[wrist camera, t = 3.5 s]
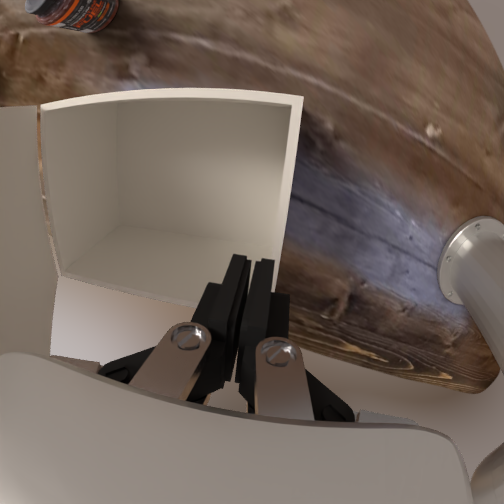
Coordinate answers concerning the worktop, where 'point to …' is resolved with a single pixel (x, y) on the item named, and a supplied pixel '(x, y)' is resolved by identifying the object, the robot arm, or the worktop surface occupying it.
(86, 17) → the supplement bottle
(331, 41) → the worktop surface
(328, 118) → the worktop surface
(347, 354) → the worktop surface
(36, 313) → the lid flap
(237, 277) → the robot arm
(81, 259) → the carton
